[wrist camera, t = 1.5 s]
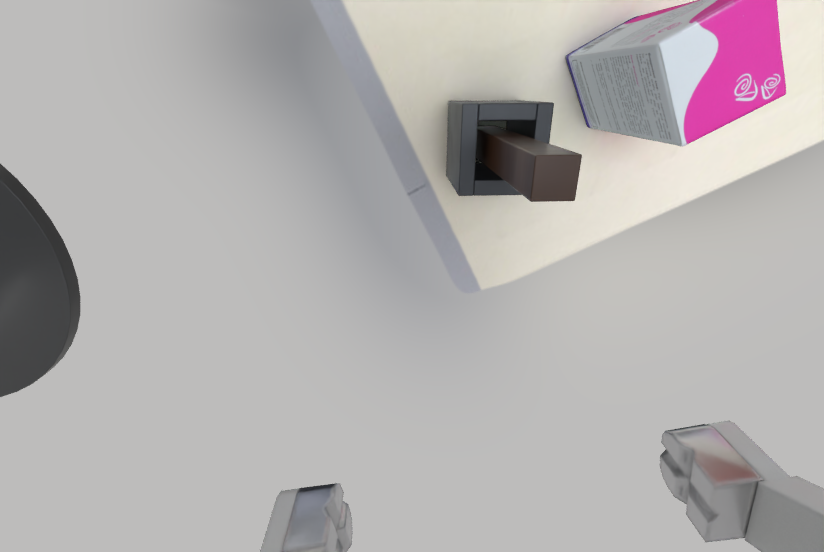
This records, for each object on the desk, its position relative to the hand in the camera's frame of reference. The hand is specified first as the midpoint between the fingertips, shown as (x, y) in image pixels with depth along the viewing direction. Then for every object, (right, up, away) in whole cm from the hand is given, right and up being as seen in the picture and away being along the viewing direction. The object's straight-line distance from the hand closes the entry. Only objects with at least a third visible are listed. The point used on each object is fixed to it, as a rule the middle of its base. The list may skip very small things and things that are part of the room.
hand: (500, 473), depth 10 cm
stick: (+3, +16, +22) cm, 27 cm away
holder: (+3, +16, +22) cm, 27 cm away
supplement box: (+13, +20, +20) cm, 31 cm away
